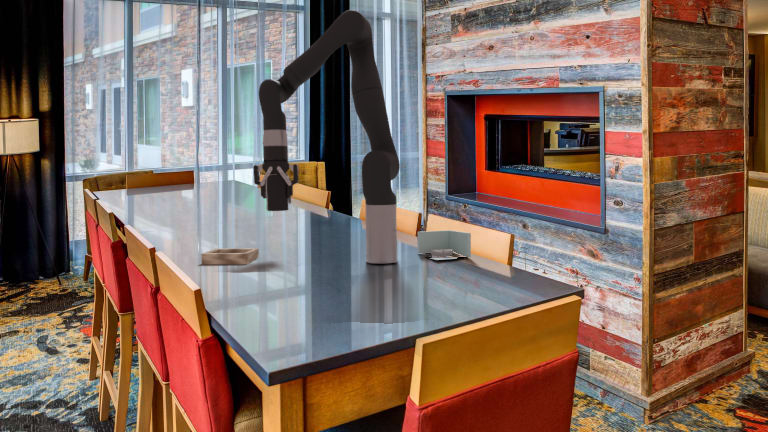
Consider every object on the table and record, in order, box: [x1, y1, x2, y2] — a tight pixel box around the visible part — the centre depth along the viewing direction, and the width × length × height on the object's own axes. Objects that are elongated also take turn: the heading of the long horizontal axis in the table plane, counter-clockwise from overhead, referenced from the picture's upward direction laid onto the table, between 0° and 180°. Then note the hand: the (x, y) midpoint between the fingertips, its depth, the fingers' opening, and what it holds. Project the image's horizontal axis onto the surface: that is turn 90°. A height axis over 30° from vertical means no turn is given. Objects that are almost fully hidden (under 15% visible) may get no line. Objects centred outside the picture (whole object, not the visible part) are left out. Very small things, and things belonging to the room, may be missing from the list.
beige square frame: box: [200, 248, 260, 265], centre depth 185 cm, size 13×13×3 cm
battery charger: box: [265, 174, 289, 212], centre depth 193 cm, size 7×4×11 cm, turn 118°
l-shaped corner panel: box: [417, 229, 472, 261], centre depth 193 cm, size 12×12×8 cm
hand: (276, 198), depth 193 cm, fingers closed on battery charger, 7 cm apart
